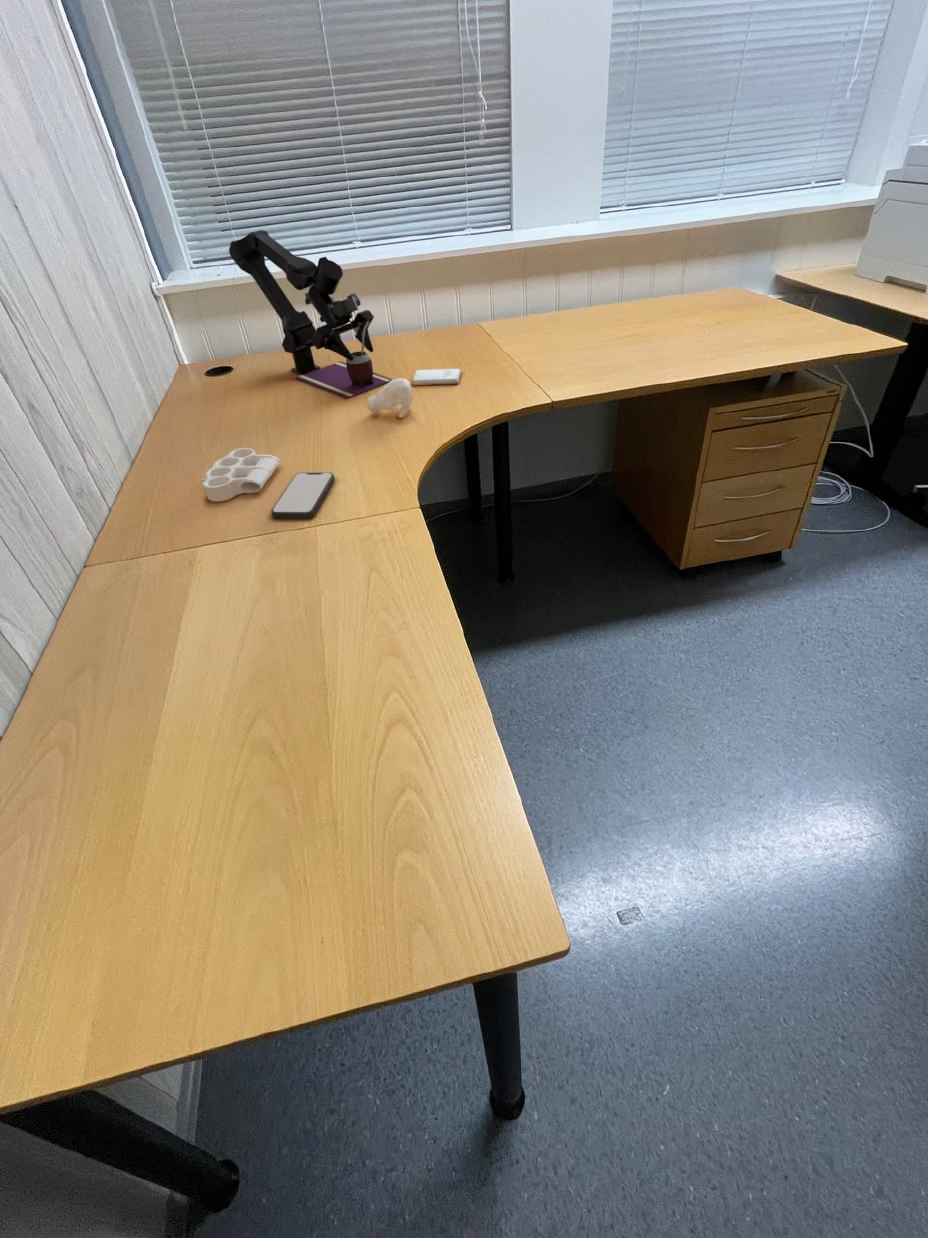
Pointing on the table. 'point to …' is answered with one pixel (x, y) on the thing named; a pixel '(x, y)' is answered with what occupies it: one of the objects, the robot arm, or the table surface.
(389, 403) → the white animal figurine
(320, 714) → the table surface
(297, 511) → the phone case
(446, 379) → the hard drive
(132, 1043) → the table surface
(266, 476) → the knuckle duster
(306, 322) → the robot arm
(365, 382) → the mate gourd
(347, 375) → the towel
